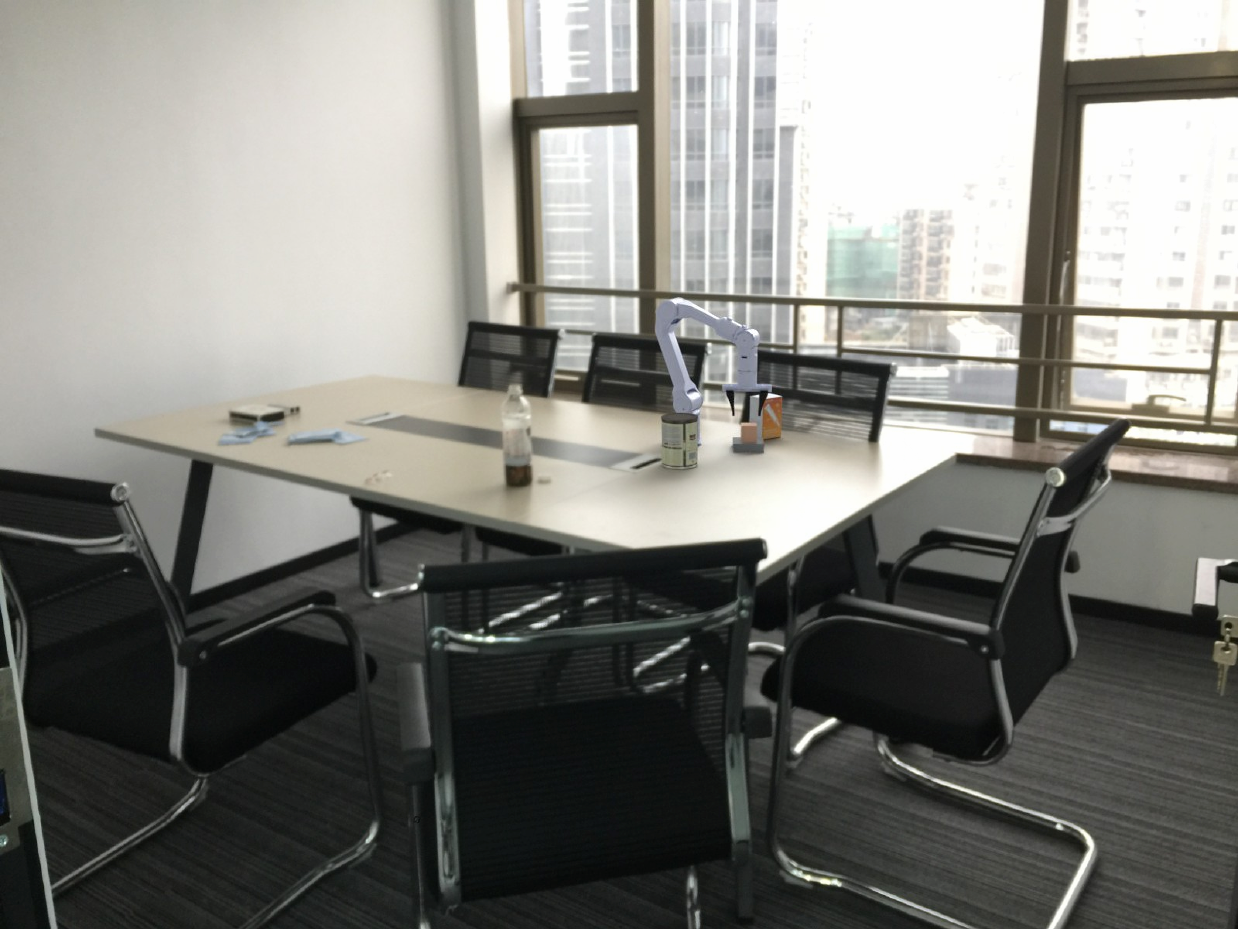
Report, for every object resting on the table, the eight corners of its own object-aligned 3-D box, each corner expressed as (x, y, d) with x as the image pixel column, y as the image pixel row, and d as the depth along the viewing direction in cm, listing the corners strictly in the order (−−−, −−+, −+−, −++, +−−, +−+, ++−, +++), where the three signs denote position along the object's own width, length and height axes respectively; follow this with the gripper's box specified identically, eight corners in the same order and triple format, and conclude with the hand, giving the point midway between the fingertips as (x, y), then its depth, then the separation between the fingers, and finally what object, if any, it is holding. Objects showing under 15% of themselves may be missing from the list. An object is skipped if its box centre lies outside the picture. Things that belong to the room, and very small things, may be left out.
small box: (762, 440, 330) (762, 398, 327) (748, 436, 335) (749, 395, 332) (781, 436, 334) (782, 395, 331) (768, 433, 339) (769, 392, 336)
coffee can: (667, 459, 308) (667, 411, 305) (701, 461, 305) (702, 413, 302) (656, 468, 299) (656, 418, 295) (692, 470, 296) (692, 420, 292)
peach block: (741, 442, 317) (741, 425, 316) (740, 439, 321) (740, 422, 320) (756, 442, 317) (757, 425, 315) (755, 438, 321) (755, 422, 320)
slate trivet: (733, 453, 316) (733, 443, 315) (732, 446, 325) (732, 437, 324) (763, 453, 315) (763, 444, 314) (762, 446, 324) (762, 437, 323)
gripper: (722, 372, 311) (722, 418, 315) (772, 372, 310) (771, 418, 314) (722, 368, 318) (721, 413, 322) (771, 368, 317) (770, 413, 320)
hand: (746, 415), depth 318 cm, fingers open, 7 cm apart
